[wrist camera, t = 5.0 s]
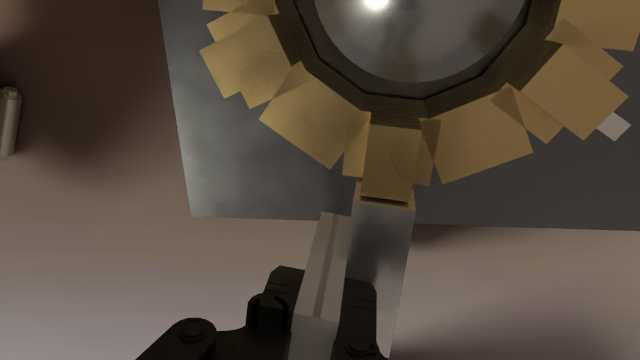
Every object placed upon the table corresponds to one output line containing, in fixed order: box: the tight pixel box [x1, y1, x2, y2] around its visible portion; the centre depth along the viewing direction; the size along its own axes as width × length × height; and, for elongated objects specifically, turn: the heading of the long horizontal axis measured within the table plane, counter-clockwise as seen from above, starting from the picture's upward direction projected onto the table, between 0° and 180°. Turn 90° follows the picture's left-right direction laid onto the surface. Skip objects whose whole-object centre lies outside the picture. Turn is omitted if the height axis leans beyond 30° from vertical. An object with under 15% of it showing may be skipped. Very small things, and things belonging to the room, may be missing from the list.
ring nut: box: [199, 0, 640, 358], centre depth 15 cm, size 20×13×5 cm
